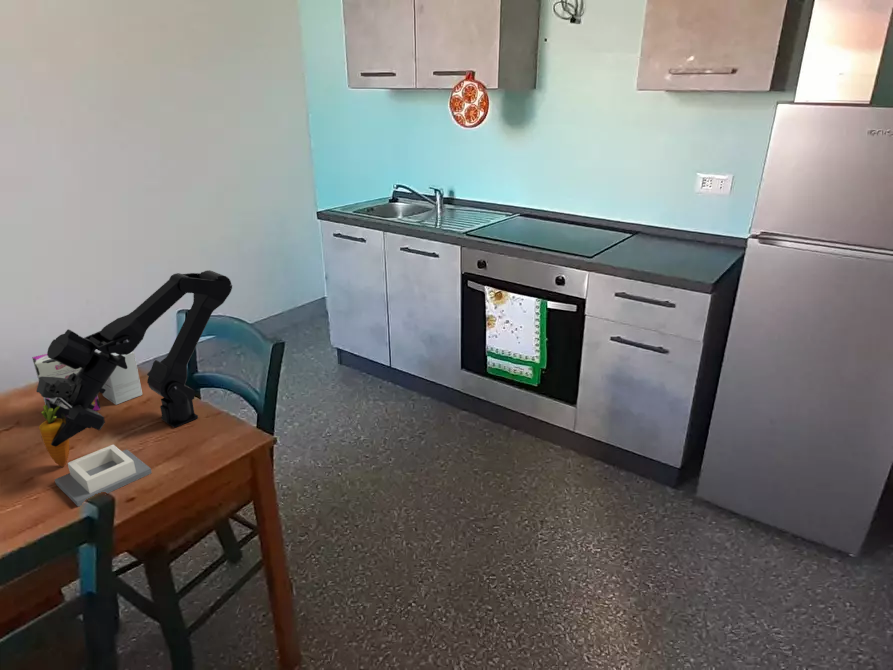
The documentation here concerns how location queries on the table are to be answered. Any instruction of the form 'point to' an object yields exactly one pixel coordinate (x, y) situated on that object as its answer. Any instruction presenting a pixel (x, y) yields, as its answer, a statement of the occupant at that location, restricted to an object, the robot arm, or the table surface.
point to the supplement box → (123, 382)
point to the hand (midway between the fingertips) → (48, 441)
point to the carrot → (48, 434)
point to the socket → (101, 473)
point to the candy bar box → (56, 372)
